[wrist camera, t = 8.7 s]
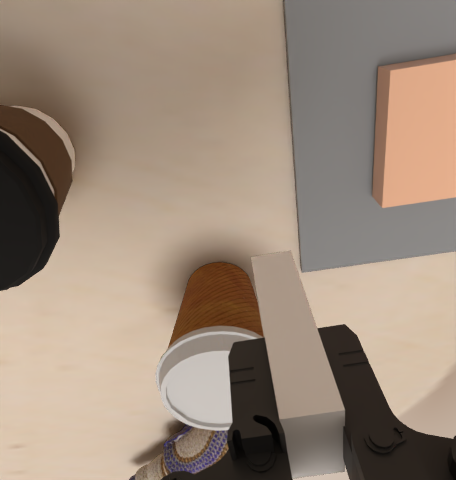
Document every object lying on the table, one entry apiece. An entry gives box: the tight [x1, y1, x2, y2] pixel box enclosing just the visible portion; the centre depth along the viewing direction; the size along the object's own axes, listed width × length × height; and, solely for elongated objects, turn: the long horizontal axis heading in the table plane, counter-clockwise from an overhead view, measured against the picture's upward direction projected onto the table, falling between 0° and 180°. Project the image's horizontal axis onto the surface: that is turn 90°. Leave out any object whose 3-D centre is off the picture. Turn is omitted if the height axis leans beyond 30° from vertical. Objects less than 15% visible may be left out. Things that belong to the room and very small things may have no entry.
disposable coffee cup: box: [156, 262, 264, 431], centre depth 32 cm, size 10×10×12 cm
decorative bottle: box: [129, 424, 229, 480], centre depth 46 cm, size 26×8×7 cm, turn 125°
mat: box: [283, 0, 456, 273], centre depth 30 cm, size 24×18×1 cm
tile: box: [372, 54, 456, 208], centre depth 28 cm, size 10×2×9 cm
